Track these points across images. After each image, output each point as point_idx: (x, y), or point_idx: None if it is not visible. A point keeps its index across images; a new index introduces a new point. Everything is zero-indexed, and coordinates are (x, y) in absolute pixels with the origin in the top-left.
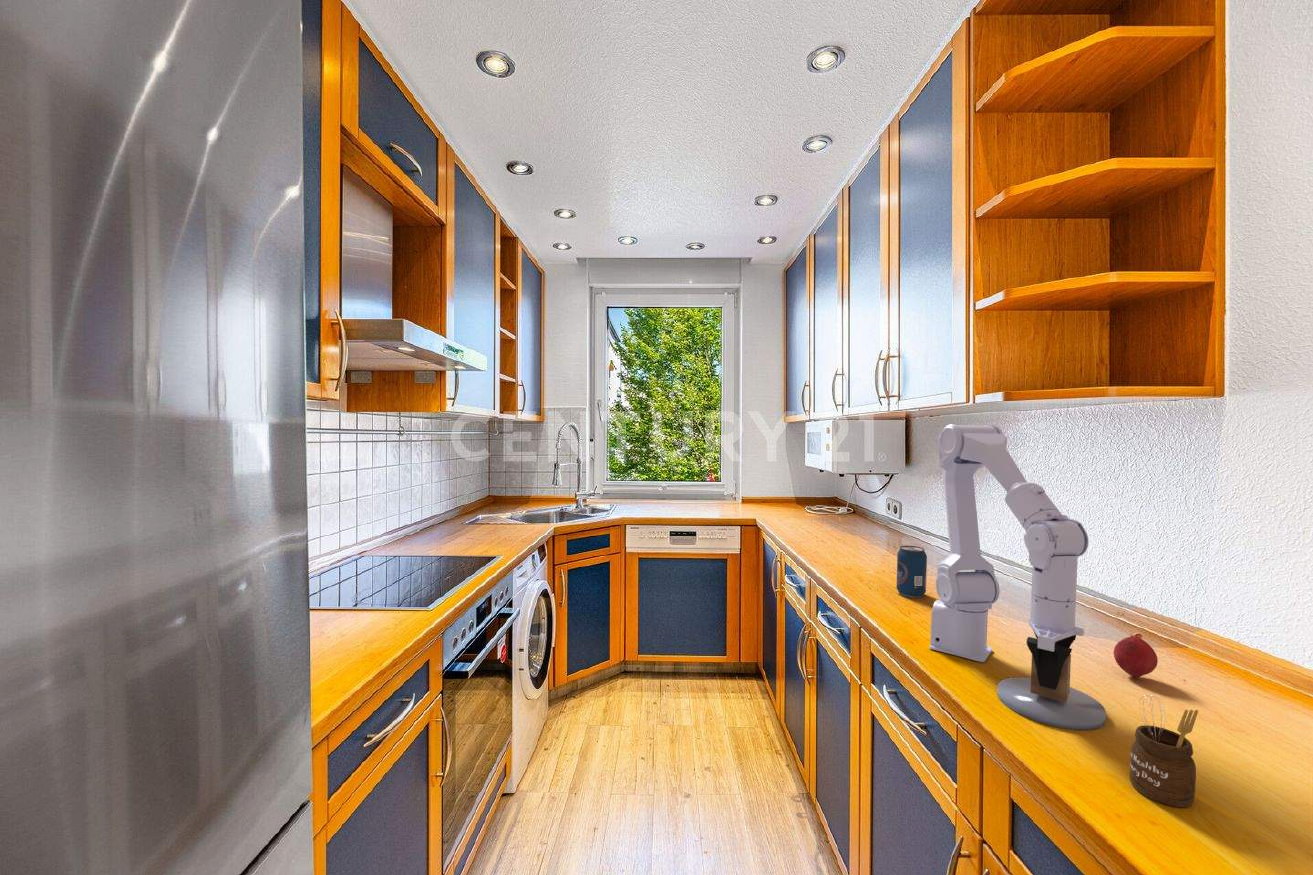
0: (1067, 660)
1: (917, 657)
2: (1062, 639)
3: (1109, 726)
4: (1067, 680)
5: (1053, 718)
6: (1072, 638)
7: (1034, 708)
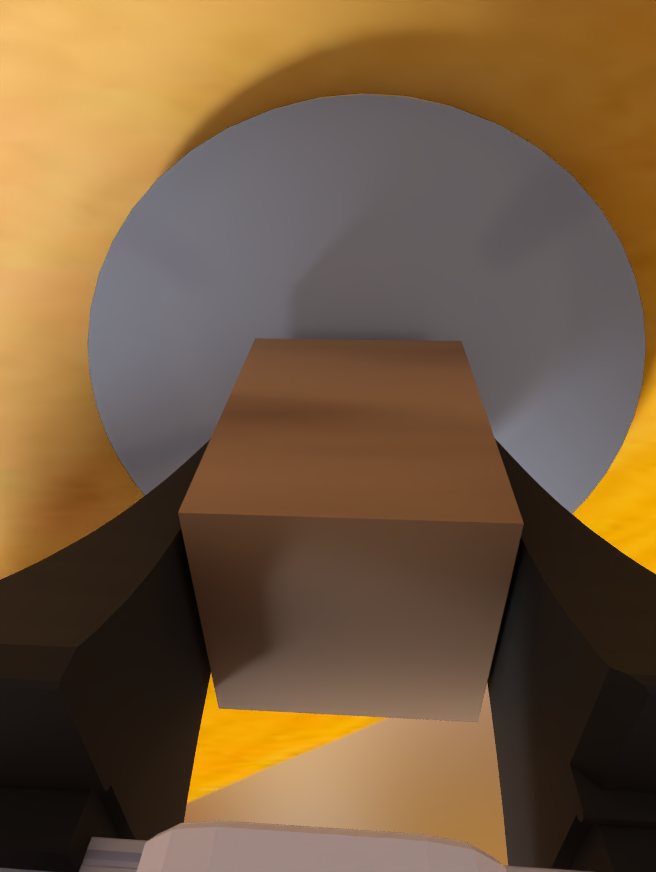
0: (408, 529)
1: (256, 768)
2: (133, 703)
3: (424, 64)
4: (476, 419)
5: (643, 370)
6: (82, 675)
7: (563, 455)
